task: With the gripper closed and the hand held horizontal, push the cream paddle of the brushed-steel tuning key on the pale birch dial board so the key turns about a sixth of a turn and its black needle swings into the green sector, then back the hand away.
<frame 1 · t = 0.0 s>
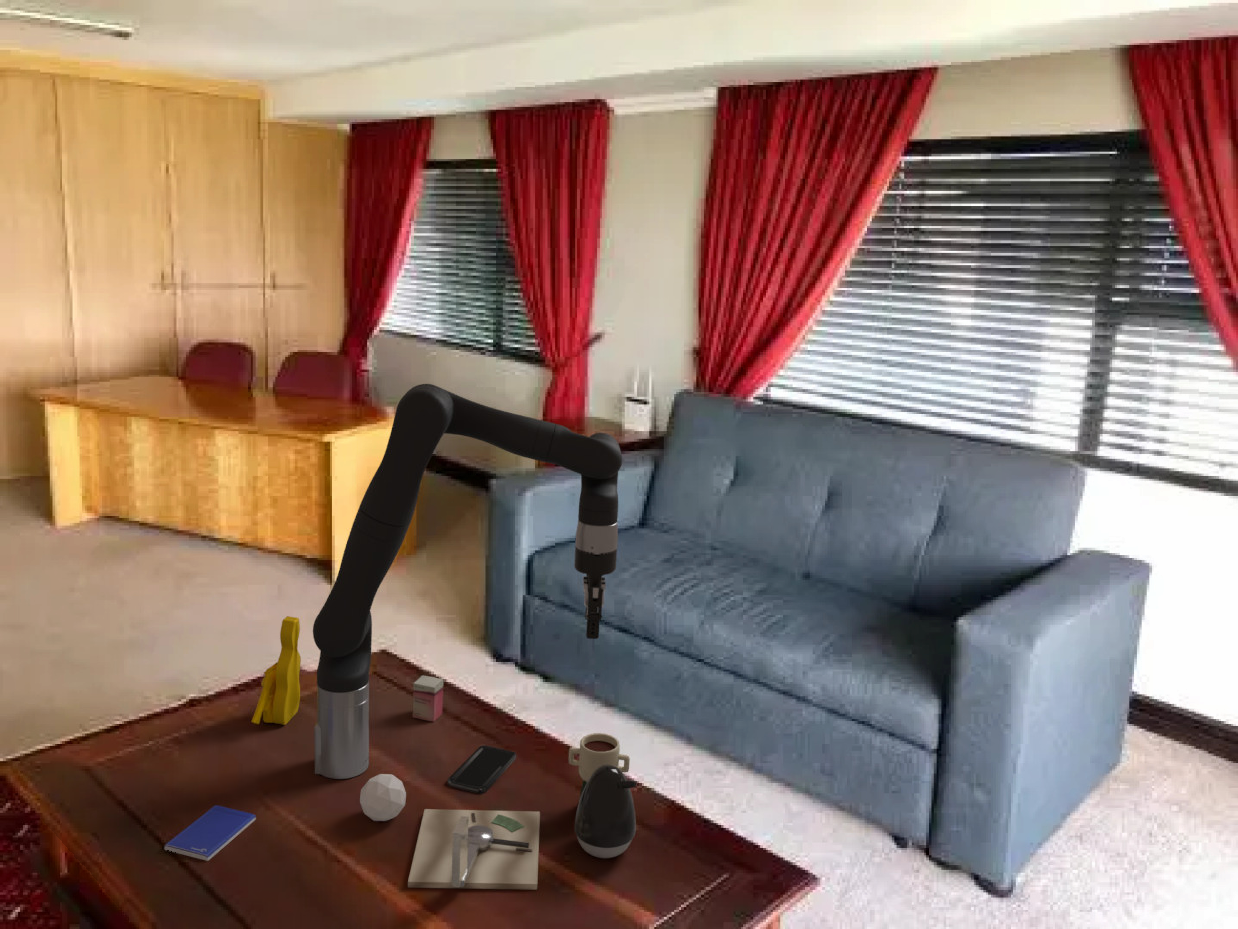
hand: (591, 628, 188), 29 cm above the table, tool pointing down, fingers open, 8 cm apart
geometric ball: (382, 818, 177), on the table
small box: (427, 716, 213), on the table
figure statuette: (281, 719, 208), on the table
tuning key: (488, 836, 162), point 7 cm above the table, hinge at 0.0°
hard drive: (211, 838, 169), on the table
character mug: (595, 809, 183), on the table
pump dispenser: (604, 850, 171), on the table
dial board: (477, 850, 169), on the table
phone: (482, 773, 193), on the table
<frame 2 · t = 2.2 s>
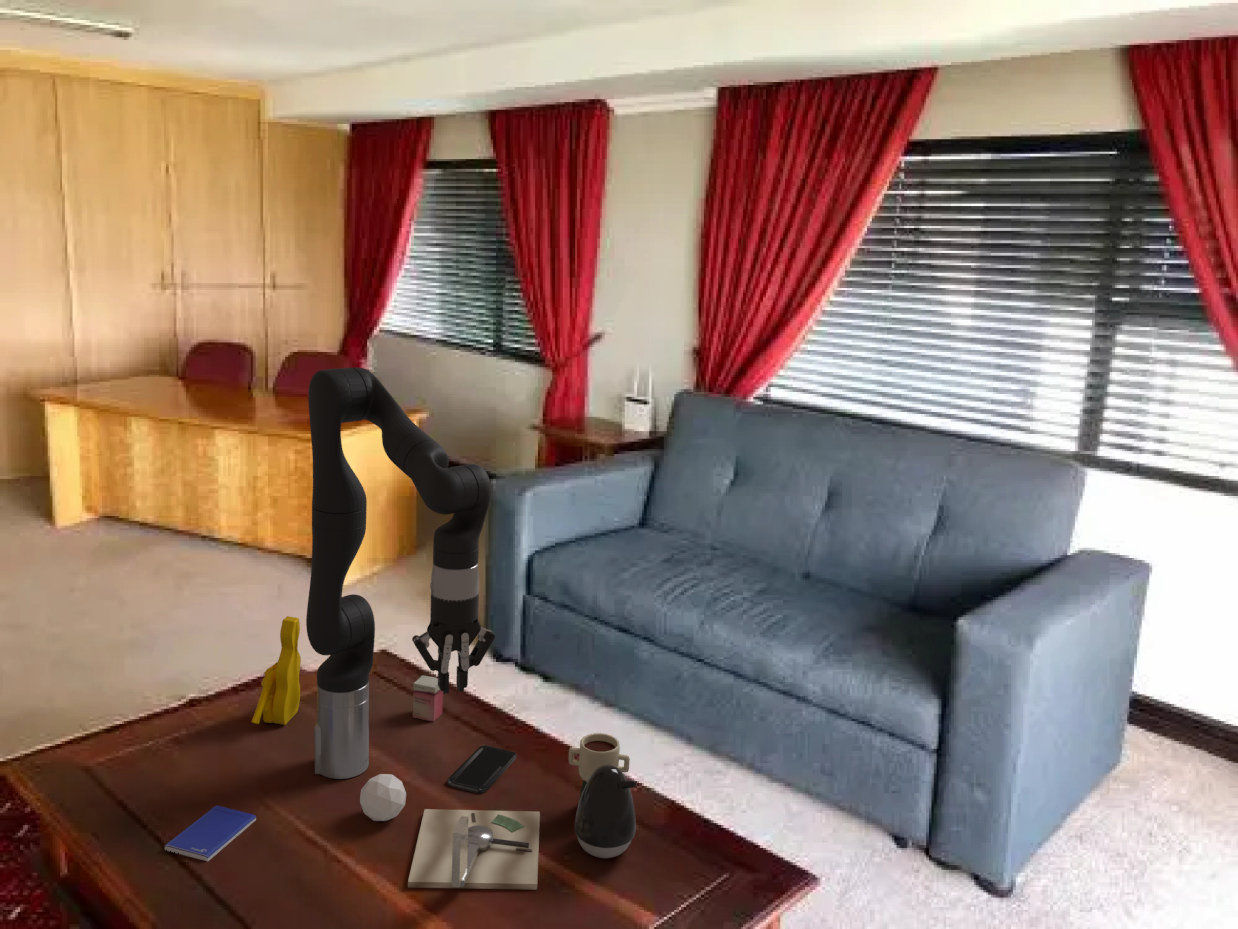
hand: (452, 690, 165), 27 cm above the table, tool pointing down, fingers closed
nothing on the table moved.
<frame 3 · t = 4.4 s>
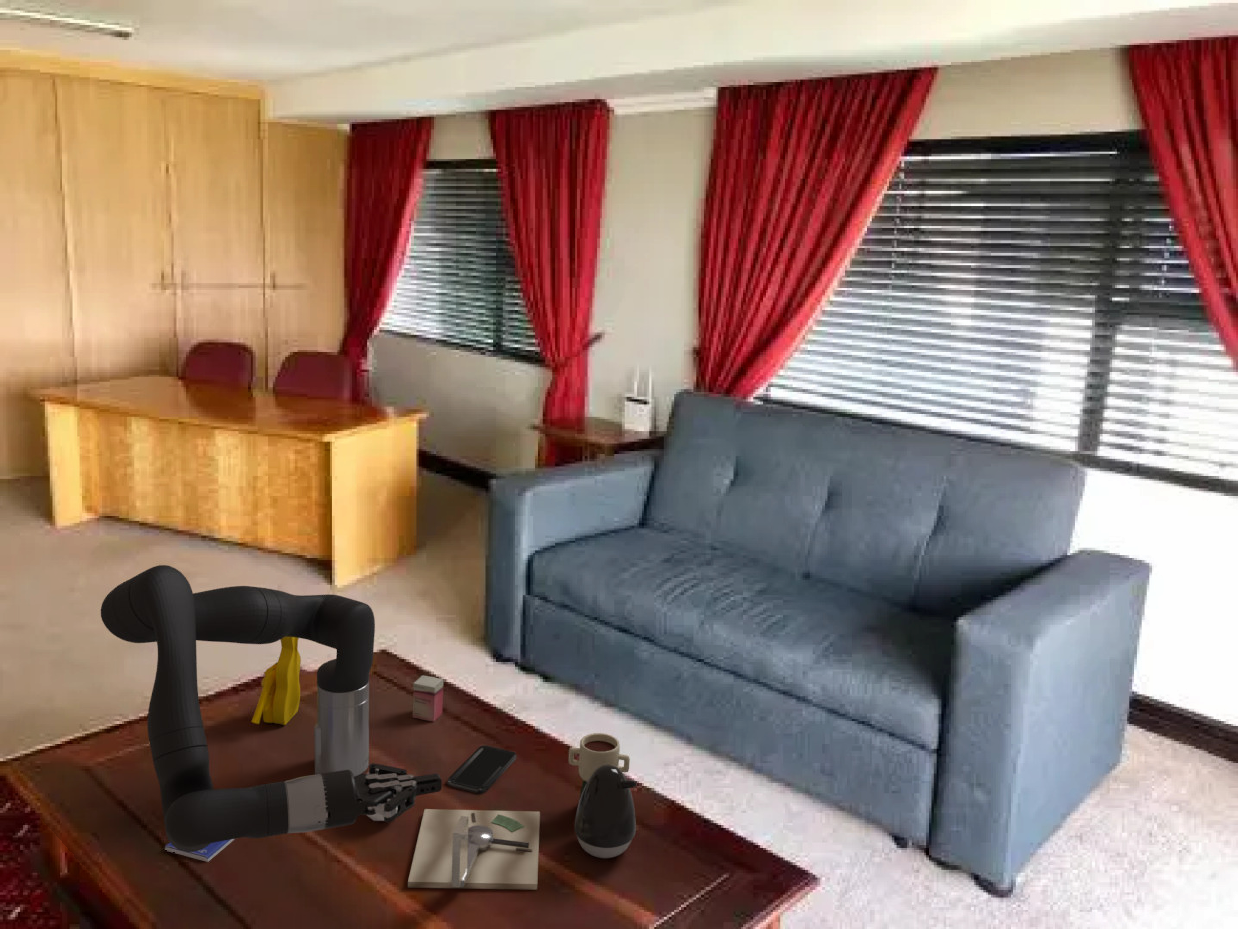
hand: (440, 782, 151), 20 cm above the table, tool horizontal, fingers closed
nothing on the table moved.
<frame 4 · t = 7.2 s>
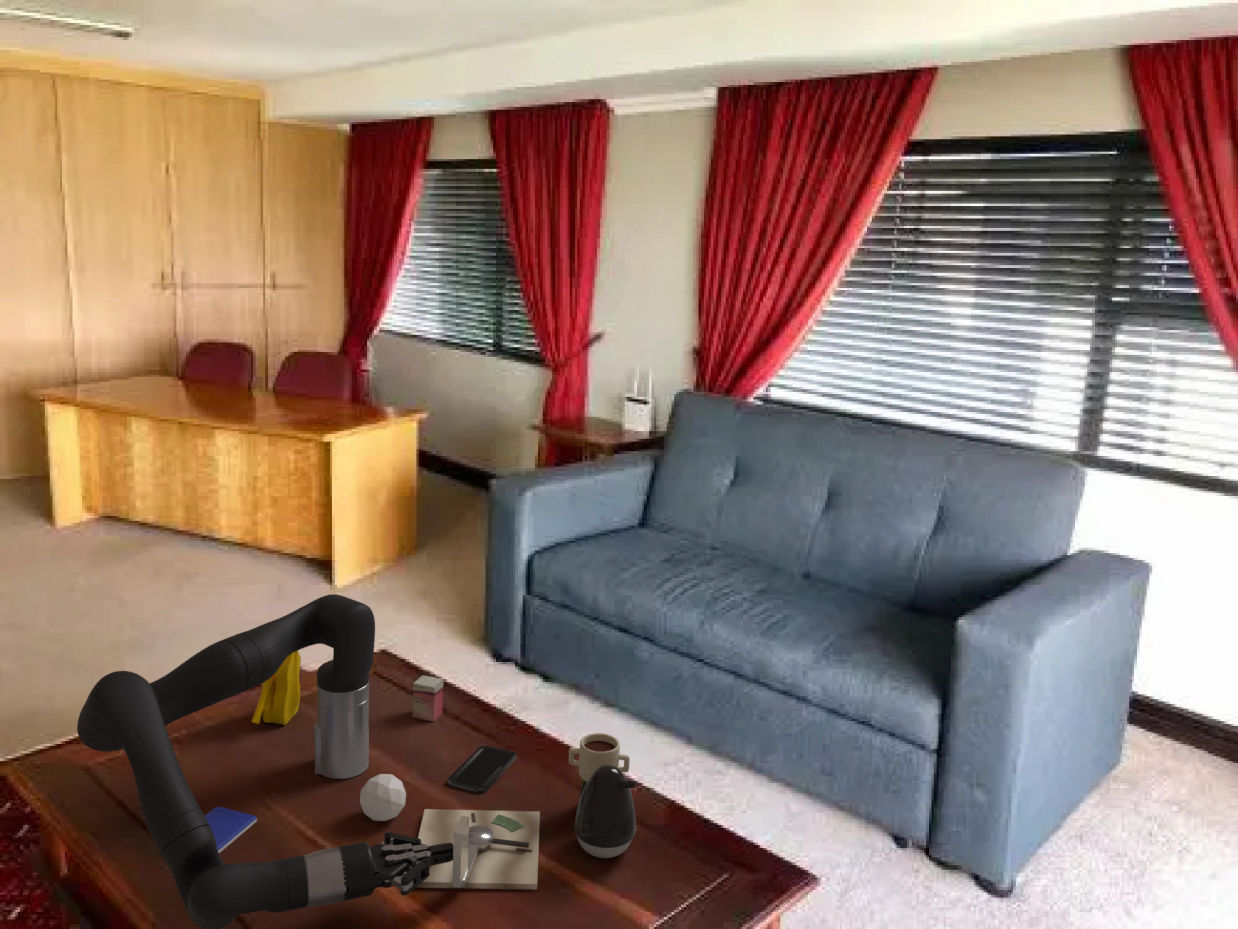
hand: (453, 851, 156), 8 cm above the table, tool horizontal, fingers closed
tuning key: (489, 836, 162), point 7 cm above the table, hinge at 0.6°, touching gripper
everything else where it was.
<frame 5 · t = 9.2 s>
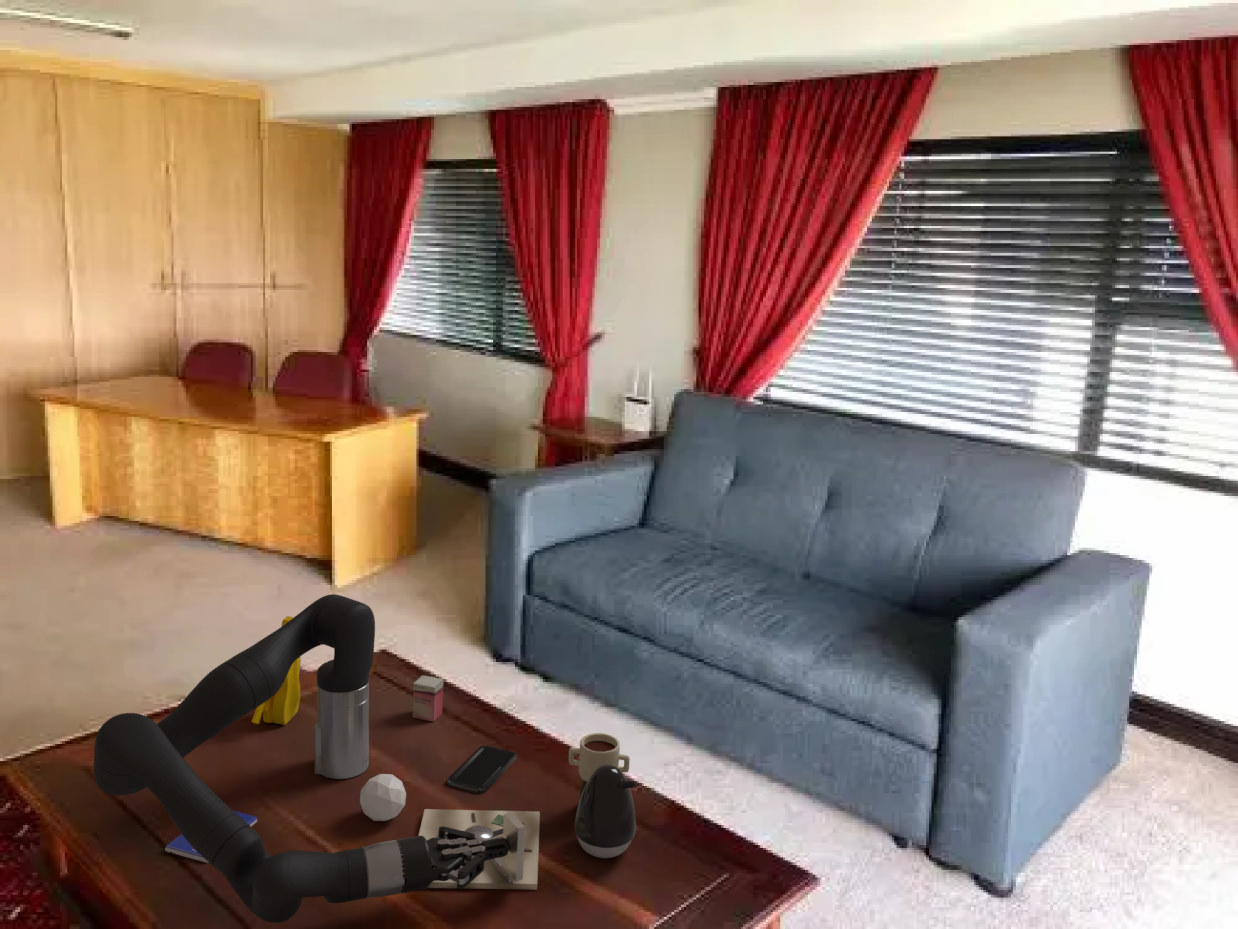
hand: (506, 846, 158), 7 cm above the table, tool horizontal, fingers closed
tuning key: (512, 826, 165), point 7 cm above the table, hinge at 41.7°, touching gripper
everything else where it was.
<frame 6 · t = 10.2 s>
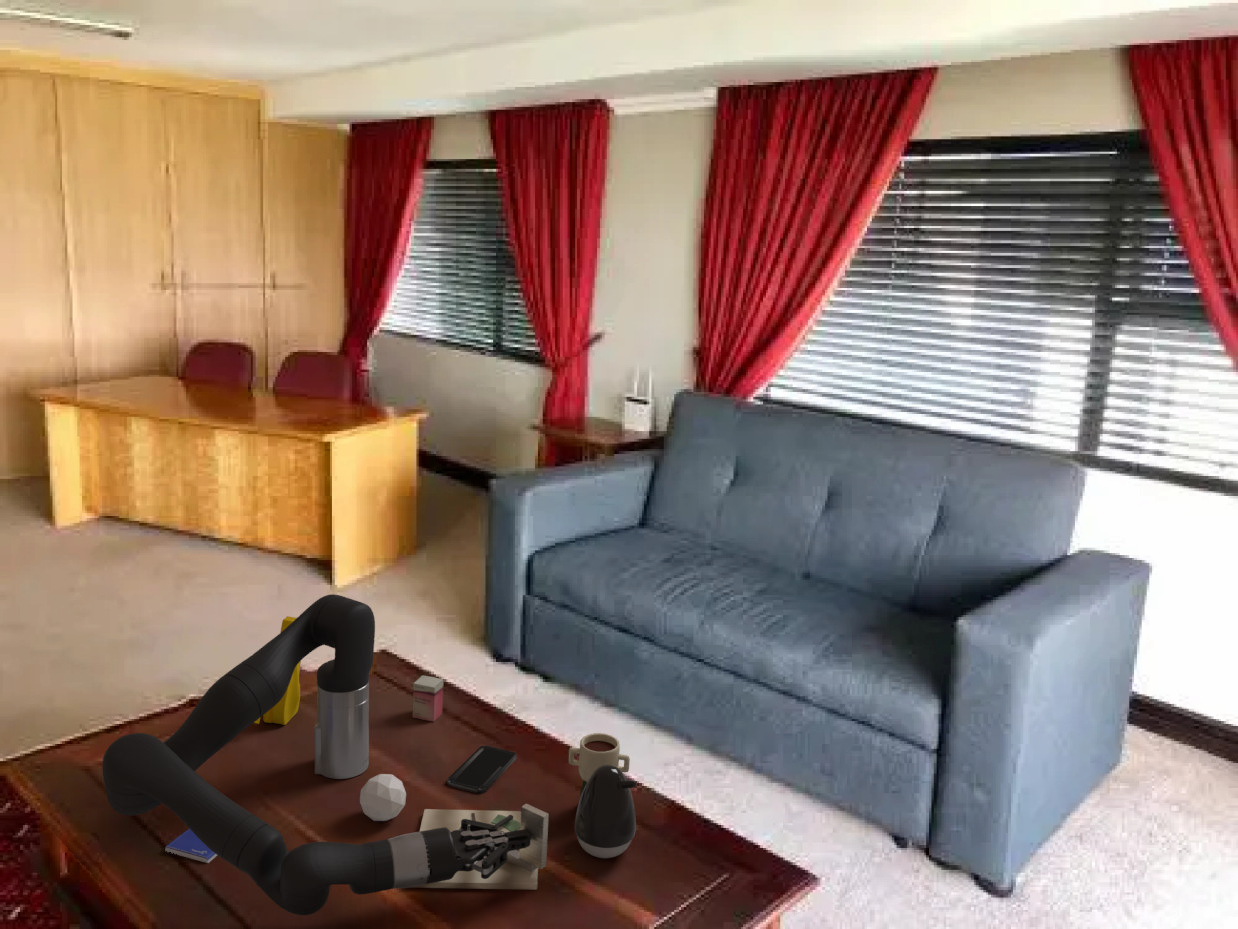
hand: (528, 838, 160), 8 cm above the table, tool horizontal, fingers closed
tuning key: (517, 818, 167), point 7 cm above the table, hinge at 62.4°, touching gripper
everything else where it was.
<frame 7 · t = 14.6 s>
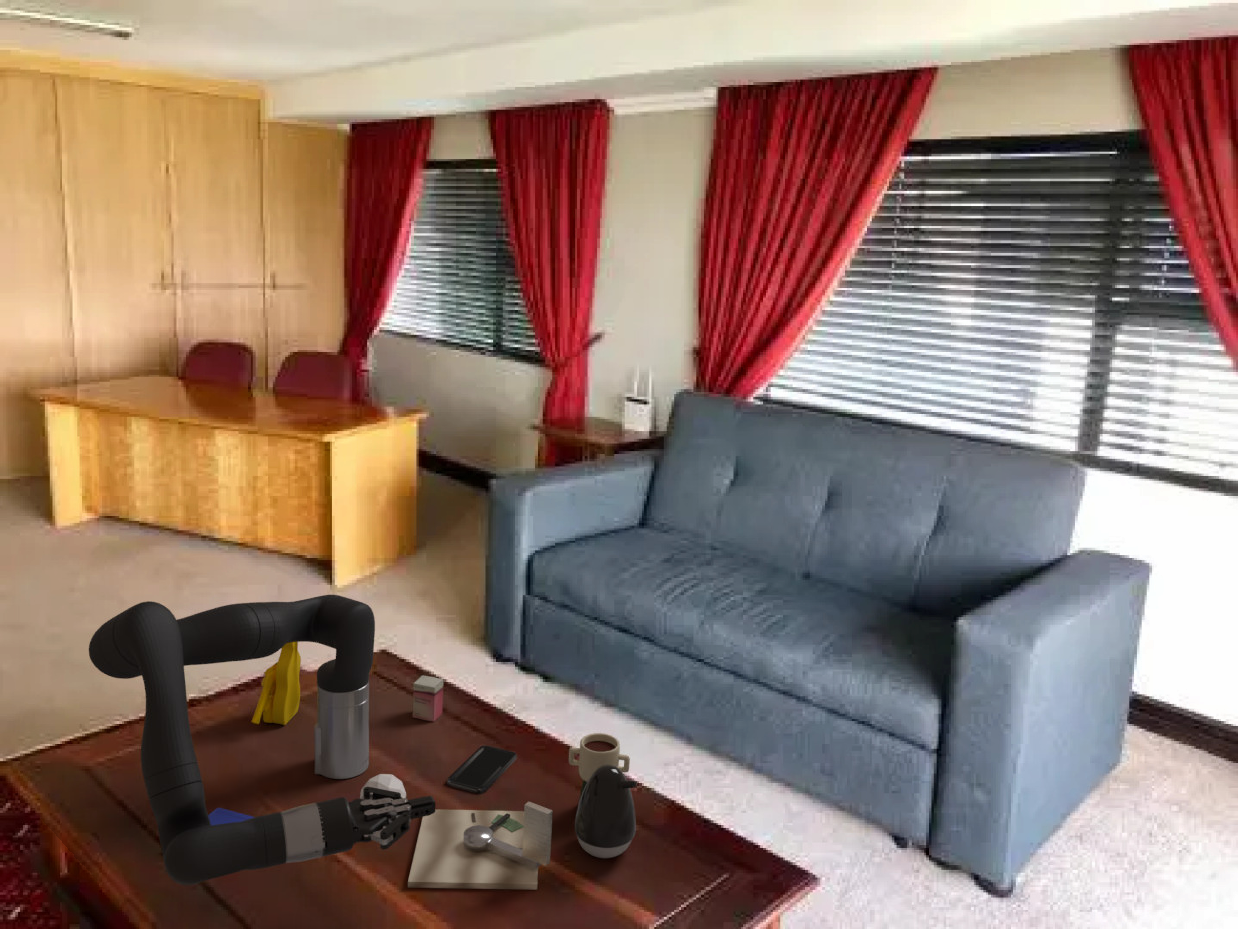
hand: (434, 804, 154), 15 cm above the table, tool horizontal, fingers closed
tuning key: (518, 816, 167), point 7 cm above the table, hinge at 67.0°
everything else where it was.
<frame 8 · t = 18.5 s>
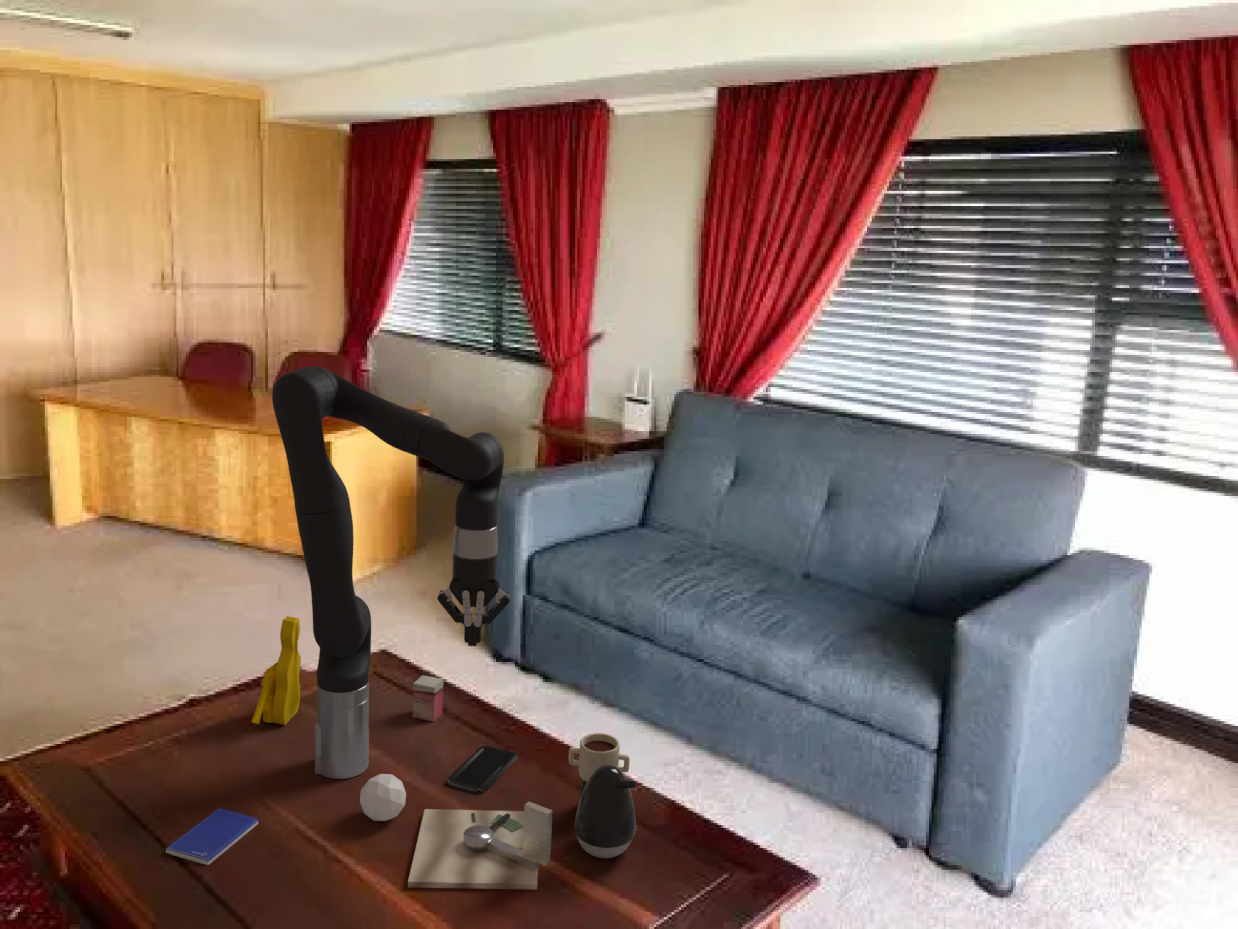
hand: (472, 644, 179), 29 cm above the table, tool pointing down, fingers closed
at the end: tuning key at +67° (first picture: +0°) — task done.
